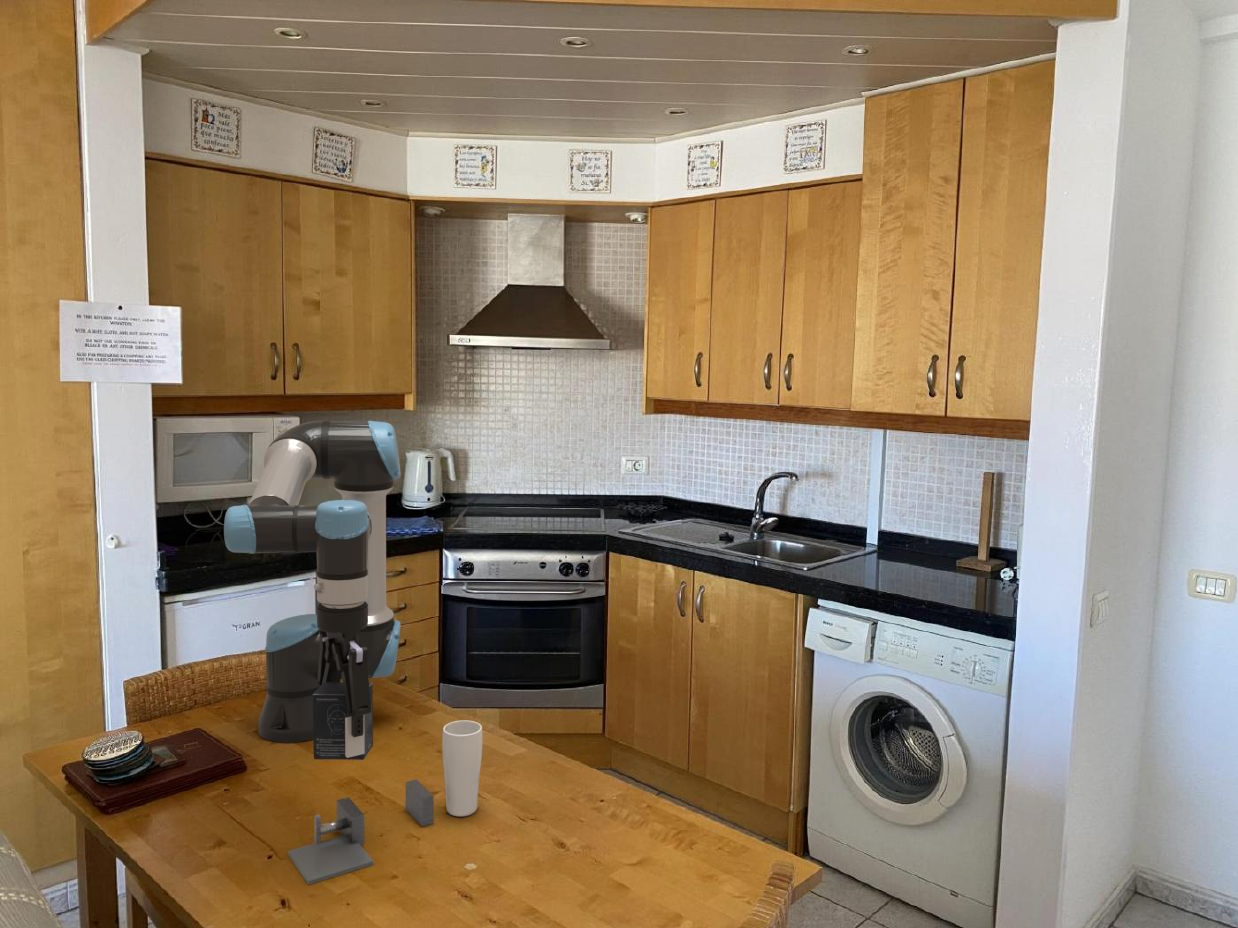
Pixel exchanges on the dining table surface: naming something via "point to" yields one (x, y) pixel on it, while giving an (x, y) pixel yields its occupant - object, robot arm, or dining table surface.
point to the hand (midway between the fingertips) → (343, 743)
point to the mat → (329, 859)
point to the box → (335, 723)
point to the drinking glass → (462, 766)
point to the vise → (353, 818)
